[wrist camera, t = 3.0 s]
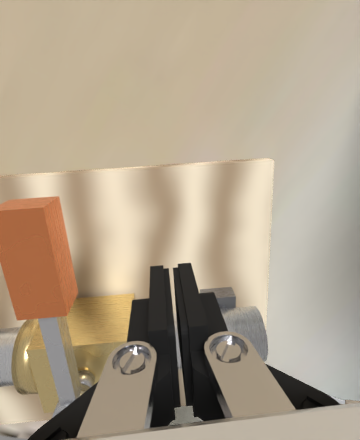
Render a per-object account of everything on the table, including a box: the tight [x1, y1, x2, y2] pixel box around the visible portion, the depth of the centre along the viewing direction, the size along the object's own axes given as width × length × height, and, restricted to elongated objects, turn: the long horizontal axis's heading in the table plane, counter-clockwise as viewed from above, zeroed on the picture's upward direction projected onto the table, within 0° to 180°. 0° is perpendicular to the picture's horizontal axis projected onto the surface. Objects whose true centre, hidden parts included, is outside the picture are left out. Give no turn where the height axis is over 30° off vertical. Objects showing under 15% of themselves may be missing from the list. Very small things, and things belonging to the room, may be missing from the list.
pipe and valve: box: [0, 287, 268, 413], centre depth 23 cm, size 30×6×8 cm, turn 93°
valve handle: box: [0, 196, 91, 419], centre depth 17 cm, size 3×15×2 cm, turn 4°
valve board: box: [0, 158, 274, 425], centre depth 28 cm, size 34×26×2 cm
